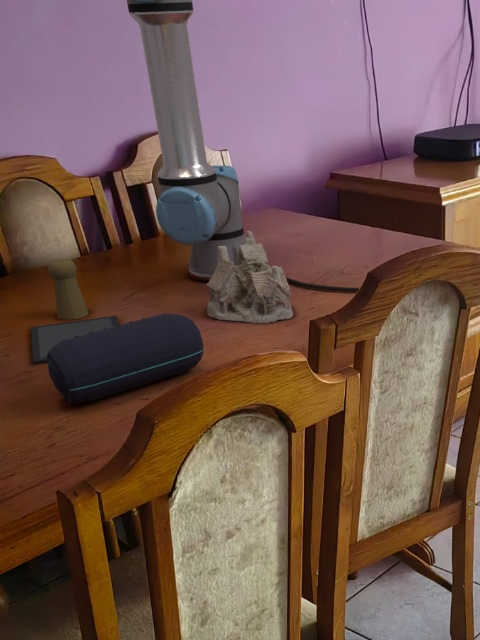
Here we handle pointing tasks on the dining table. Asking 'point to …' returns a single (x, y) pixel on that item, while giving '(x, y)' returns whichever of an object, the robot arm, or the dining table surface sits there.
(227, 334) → the dining table surface
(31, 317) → the dining table surface
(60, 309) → the cork
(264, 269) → the ceramic cottage
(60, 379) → the portable speaker
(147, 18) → the robot arm
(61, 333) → the tablet computer
